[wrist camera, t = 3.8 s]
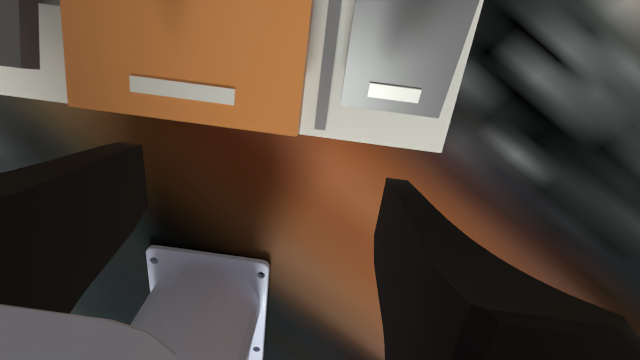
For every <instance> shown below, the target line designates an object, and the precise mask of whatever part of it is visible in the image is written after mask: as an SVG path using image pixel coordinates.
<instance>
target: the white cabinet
mask: <svg viewBox="0 0 640 360" xmlns="http://www.w3.org/2000/svg"><path fill="white" fill-rule="evenodd" d="M483 1H484V0H480V1H479V4H478V7H477V9H476V12H475V15H474V18H473V21H472V24H471V27H470V30H469V32H468V35H467V38H466V41H465V44H464V47H463V50H462V53H461V55H460V58H459V61H458V64H457V67H456V70H455V73H454V76H453V79H452V81H451V84H450V87H449V90H448V93H447V96H446V99H445V102H444V104H443V107H442V110H441V113H440V116H439V118H431V117H424V116H416V115H409V114H401V113H393V112H386V111H378V110H371V109H363V108H355V107H348V106H340V103H341V95H342V87H343V80H344V73H345V67H346V60H347V53H348V46H349V39H350V32H351V25H352V18H353V11H354V4H355V0H314V5H313V14H312V24H311V33H310V42H309V51H308V60H307V70H306V79H305V88H304V97H303V106H302V116H301V125H300V132H299V134H302V135H309V136H317V137H324V138H332V139H339V140H347V141H355V142H362V143H370V144H377V145H385V146H392V147H400V148H407V149H415V150H422V151H430V152H437V153H442V149H443V145H444V142H445V138H446V134H447V131H448V127H449V124H450V120H451V116H452V113H453V109H454V106H455V102H456V98H457V95H458V91H459V88H460V84H461V80H462V77H463V73H464V70H465V66H466V62H467V59H468V55H469V51H470V48H471V44H472V41H473V37H474V33H475V30H476V26H477V23H478V19H479V15H480V12H481V8H482V5H483ZM38 7H39V48H40V70H38V69H23V68H14V67H7V66H0V95H8V96H15V97H23V98H30V99H38V100H45V101H53V102H61V103H68V100H67V87H66V74H65V61H64V47H63V34H62V21H61V8H60V0H38Z"/></svg>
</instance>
